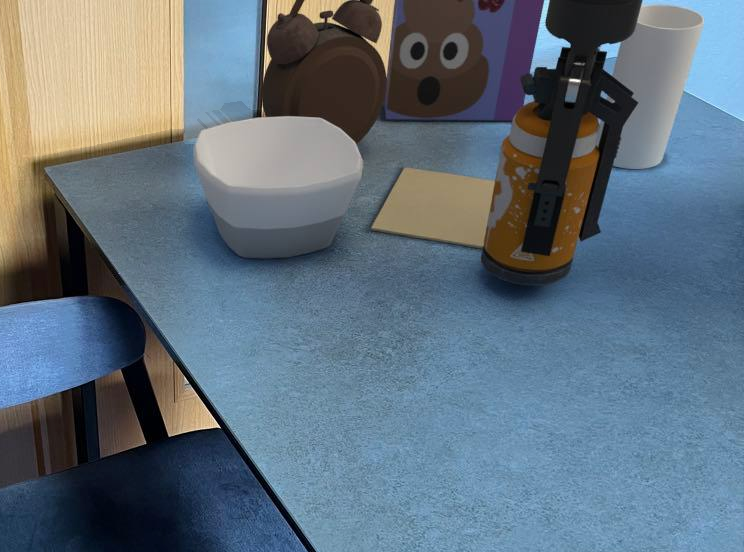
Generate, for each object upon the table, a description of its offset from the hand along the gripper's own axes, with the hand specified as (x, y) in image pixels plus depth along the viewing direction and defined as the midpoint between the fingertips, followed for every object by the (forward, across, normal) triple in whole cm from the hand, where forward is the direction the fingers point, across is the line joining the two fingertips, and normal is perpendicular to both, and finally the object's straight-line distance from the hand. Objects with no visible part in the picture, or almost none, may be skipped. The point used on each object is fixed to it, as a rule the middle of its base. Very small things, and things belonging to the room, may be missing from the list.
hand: (542, 228), depth 103 cm
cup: (+6, -34, +7) cm, 35 cm away
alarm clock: (+6, -21, -29) cm, 37 cm away
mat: (+6, -13, -8) cm, 16 cm away
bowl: (+6, -1, -28) cm, 29 cm away
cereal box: (+6, -39, -16) cm, 43 cm away
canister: (+5, 0, 0) cm, 5 cm away
